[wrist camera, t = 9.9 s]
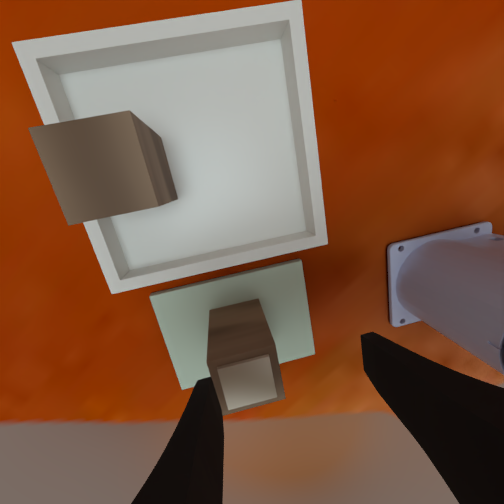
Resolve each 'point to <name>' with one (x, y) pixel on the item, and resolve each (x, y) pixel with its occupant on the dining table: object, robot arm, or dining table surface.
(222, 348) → the labelled block
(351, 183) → the dining table surface
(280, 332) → the sage mat
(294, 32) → the parts tray
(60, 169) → the plain block
